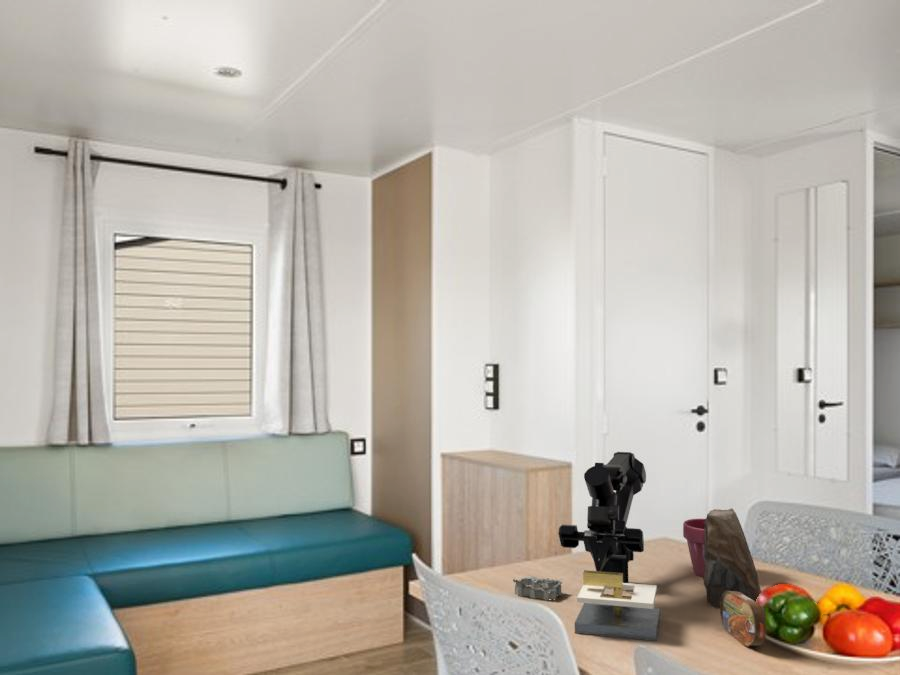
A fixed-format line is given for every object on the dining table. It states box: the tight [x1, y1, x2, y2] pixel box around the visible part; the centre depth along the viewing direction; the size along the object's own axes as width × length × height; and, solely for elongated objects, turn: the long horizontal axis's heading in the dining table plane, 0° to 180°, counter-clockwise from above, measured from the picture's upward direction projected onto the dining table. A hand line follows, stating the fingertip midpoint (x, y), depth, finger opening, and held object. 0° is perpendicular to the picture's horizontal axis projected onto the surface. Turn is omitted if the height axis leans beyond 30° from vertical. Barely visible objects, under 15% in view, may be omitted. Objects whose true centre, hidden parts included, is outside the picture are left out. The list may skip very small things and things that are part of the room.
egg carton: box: [512, 575, 564, 601], centre depth 182 cm, size 11×8×4 cm
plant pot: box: [682, 518, 706, 578], centre depth 198 cm, size 14×14×13 cm
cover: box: [576, 582, 658, 609], centre depth 161 cm, size 15×13×1 cm
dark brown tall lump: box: [703, 507, 762, 609], centre depth 177 cm, size 13×13×20 cm
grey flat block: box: [574, 603, 661, 641], centre depth 160 cm, size 16×14×2 cm
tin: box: [719, 591, 767, 647], centre depth 152 cm, size 15×3×8 cm, turn 5°
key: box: [582, 569, 632, 616], centre depth 161 cm, size 11×2×8 cm, turn 72°
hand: (598, 571), depth 170 cm, fingers closed
